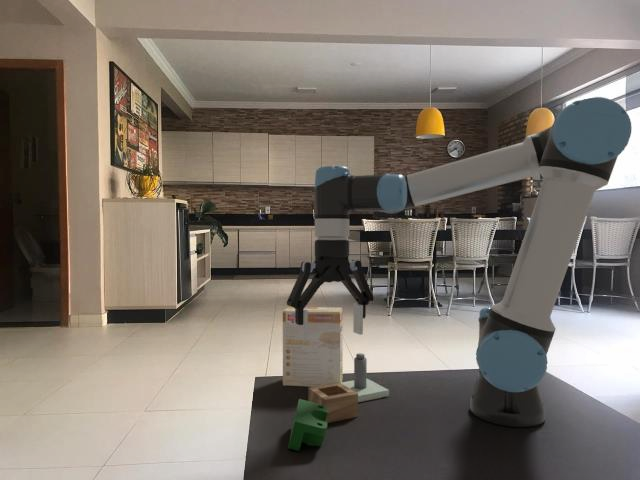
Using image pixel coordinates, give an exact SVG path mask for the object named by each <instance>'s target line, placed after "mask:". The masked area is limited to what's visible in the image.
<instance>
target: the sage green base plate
mask: <svg viewBox="0 0 640 480" xmlns="http://www.w3.org/2000/svg"><path fill="white" fill-rule="evenodd" d="M353 359H354V363H353V365H354V366H353V367H354V368H353V369H354V370H353V373H354V374H353V378H354V379H353V380H348V381H347V380H346V381H342V382H341V383H342V384H343V385H345V386H346V387H348V388H350V389H351V390H353V391H355V392H356V393H358V403H361V402H366V401H372V400H377V399H378V400H379V399H383V398H388V397H390V389H388V388H387V387H384V386H382V385H380V384H378V383H376V382H374V381H373V380H371V379H369V378H367V370H368V369H367V364H368V363H367V357H365V354H364V353H356V356H355V357H354V358H353ZM382 397H383V398H382Z"/></svg>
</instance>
